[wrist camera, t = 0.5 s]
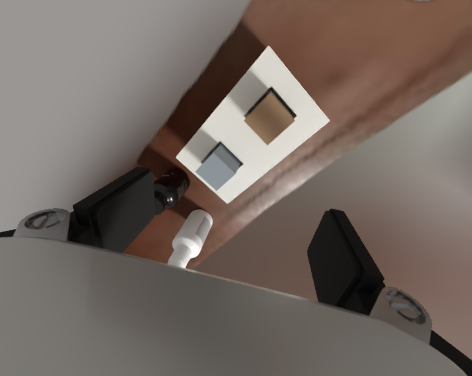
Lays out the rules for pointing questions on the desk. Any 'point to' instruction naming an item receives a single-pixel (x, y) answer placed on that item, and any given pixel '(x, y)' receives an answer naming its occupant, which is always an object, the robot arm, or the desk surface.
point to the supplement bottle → (169, 189)
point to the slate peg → (219, 167)
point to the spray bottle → (190, 238)
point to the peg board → (242, 136)
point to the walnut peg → (269, 118)
